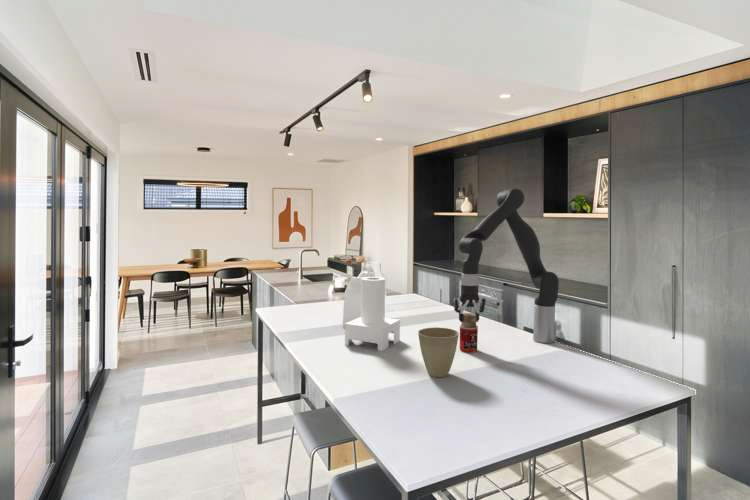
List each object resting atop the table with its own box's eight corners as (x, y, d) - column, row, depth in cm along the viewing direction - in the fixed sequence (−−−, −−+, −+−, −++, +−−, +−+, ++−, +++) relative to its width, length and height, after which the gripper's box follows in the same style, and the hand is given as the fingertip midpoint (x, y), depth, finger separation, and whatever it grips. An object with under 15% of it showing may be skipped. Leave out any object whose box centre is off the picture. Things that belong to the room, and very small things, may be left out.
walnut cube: (472, 324, 198) (472, 313, 197) (476, 327, 193) (476, 315, 192) (461, 324, 197) (461, 313, 197) (464, 327, 192) (465, 315, 192)
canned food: (464, 353, 191) (465, 328, 190) (456, 348, 199) (456, 324, 198) (480, 352, 193) (481, 327, 192) (471, 347, 201) (472, 322, 200)
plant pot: (453, 367, 174) (454, 326, 173) (461, 381, 159) (462, 337, 158) (415, 367, 174) (415, 327, 172) (420, 381, 159) (420, 337, 158)
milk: (342, 327, 234) (342, 278, 232) (350, 322, 245) (350, 275, 243) (364, 329, 231) (364, 279, 228) (370, 324, 242) (371, 276, 239)
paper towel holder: (344, 345, 203) (344, 279, 200) (365, 335, 219) (365, 274, 217) (381, 351, 194) (382, 283, 191) (399, 340, 210) (400, 277, 208)
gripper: (483, 282, 198) (482, 319, 199) (451, 282, 197) (450, 319, 198) (488, 284, 190) (487, 323, 192) (455, 285, 189) (454, 324, 191)
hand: (468, 321), depth 195 cm, fingers open, 6 cm apart
